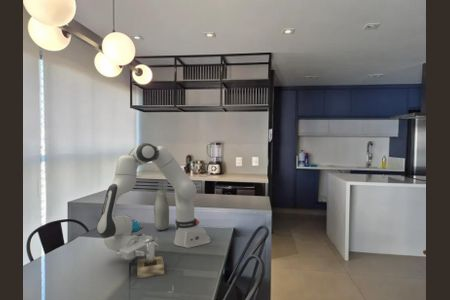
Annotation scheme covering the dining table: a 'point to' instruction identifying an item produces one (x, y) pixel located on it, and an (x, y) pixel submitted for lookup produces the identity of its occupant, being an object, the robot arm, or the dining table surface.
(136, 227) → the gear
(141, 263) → the socket block
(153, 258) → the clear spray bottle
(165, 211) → the glass bottle
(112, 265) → the dining table surface
